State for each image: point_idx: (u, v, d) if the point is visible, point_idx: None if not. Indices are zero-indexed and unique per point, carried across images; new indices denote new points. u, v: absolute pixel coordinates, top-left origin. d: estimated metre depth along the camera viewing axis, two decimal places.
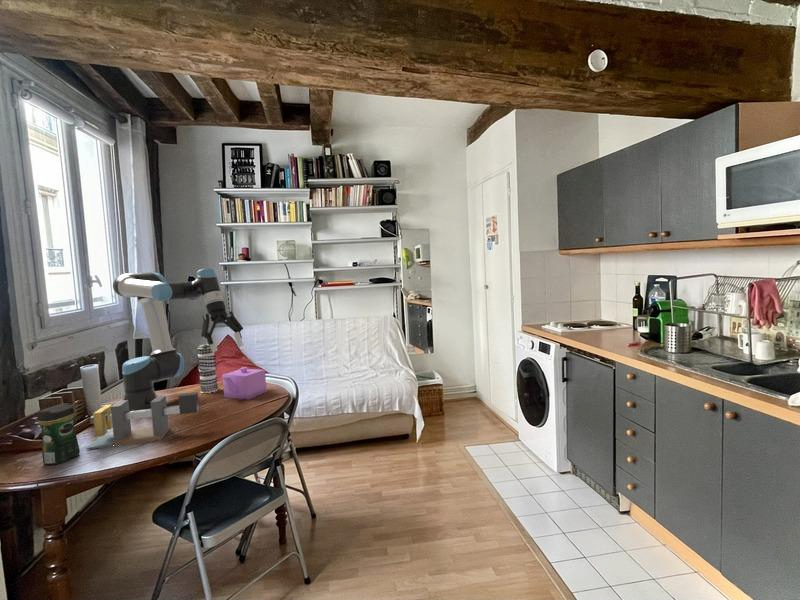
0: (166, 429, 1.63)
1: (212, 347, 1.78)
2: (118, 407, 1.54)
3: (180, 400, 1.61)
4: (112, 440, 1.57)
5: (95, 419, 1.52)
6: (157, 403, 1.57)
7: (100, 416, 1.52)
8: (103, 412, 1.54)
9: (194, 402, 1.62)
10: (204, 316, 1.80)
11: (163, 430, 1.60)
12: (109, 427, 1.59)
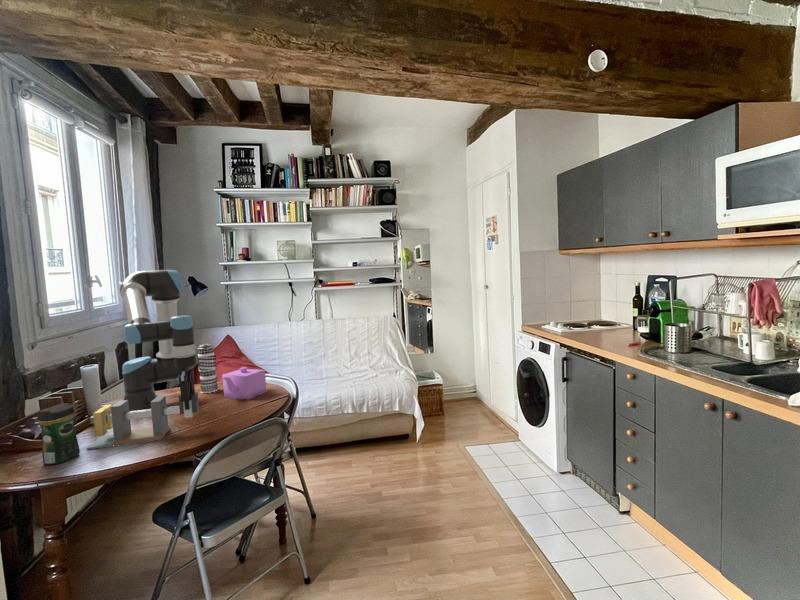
0: (166, 429, 1.63)
1: (186, 413, 1.61)
2: (118, 407, 1.54)
3: None
4: (112, 440, 1.57)
5: (95, 419, 1.52)
6: (157, 403, 1.57)
7: (100, 416, 1.52)
8: (103, 412, 1.54)
9: (194, 402, 1.62)
10: (181, 378, 1.57)
11: (163, 430, 1.60)
12: (109, 427, 1.59)
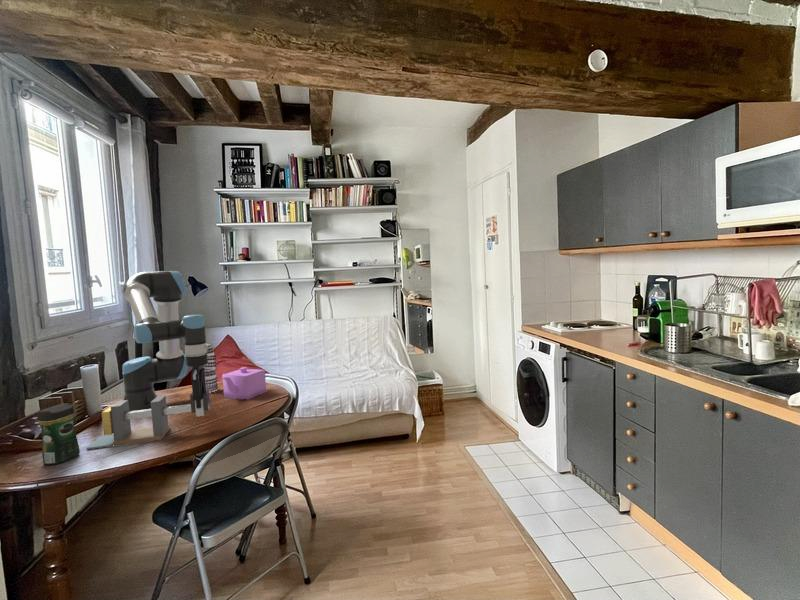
0: (166, 429, 1.63)
1: (197, 411, 1.62)
2: (118, 407, 1.54)
3: (191, 398, 1.62)
4: (112, 440, 1.57)
5: (104, 418, 1.52)
6: (157, 403, 1.57)
7: (109, 415, 1.53)
8: None
9: (205, 401, 1.63)
10: (193, 377, 1.58)
11: (163, 430, 1.60)
12: None
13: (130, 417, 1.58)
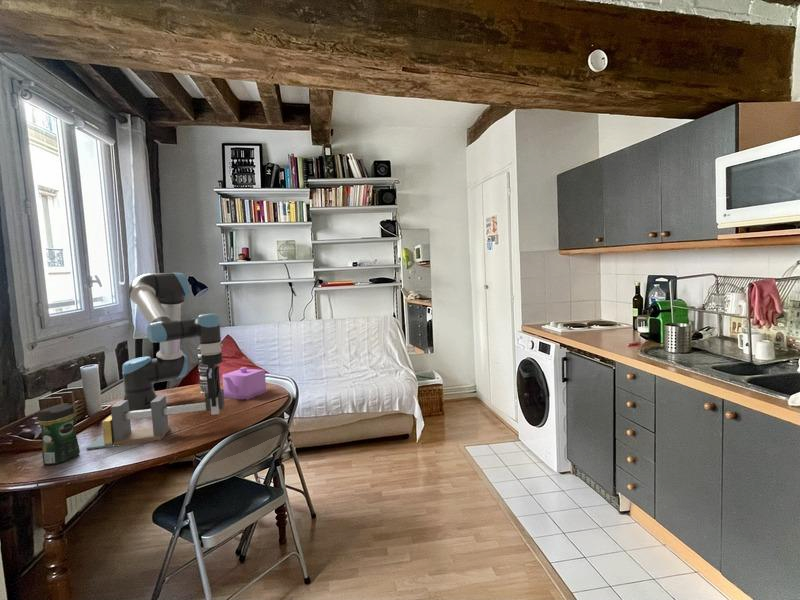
0: (166, 429, 1.63)
1: (212, 409, 1.64)
2: (118, 407, 1.54)
3: (206, 397, 1.63)
4: None
5: (104, 427, 1.52)
6: (157, 403, 1.57)
7: (109, 424, 1.53)
8: None
9: (220, 399, 1.65)
10: (209, 375, 1.59)
11: (163, 430, 1.60)
12: None
13: (145, 415, 1.59)
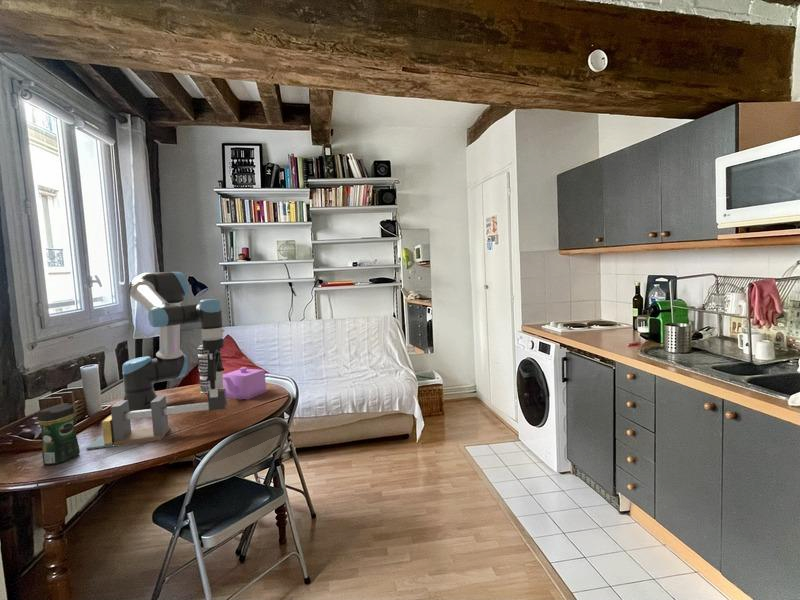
0: (166, 429, 1.63)
1: (211, 392, 1.59)
2: (118, 407, 1.54)
3: (209, 396, 1.64)
4: None
5: (104, 427, 1.52)
6: (157, 403, 1.57)
7: (109, 424, 1.53)
8: None
9: (222, 399, 1.65)
10: (210, 356, 1.59)
11: (163, 430, 1.60)
12: None
13: (148, 415, 1.59)
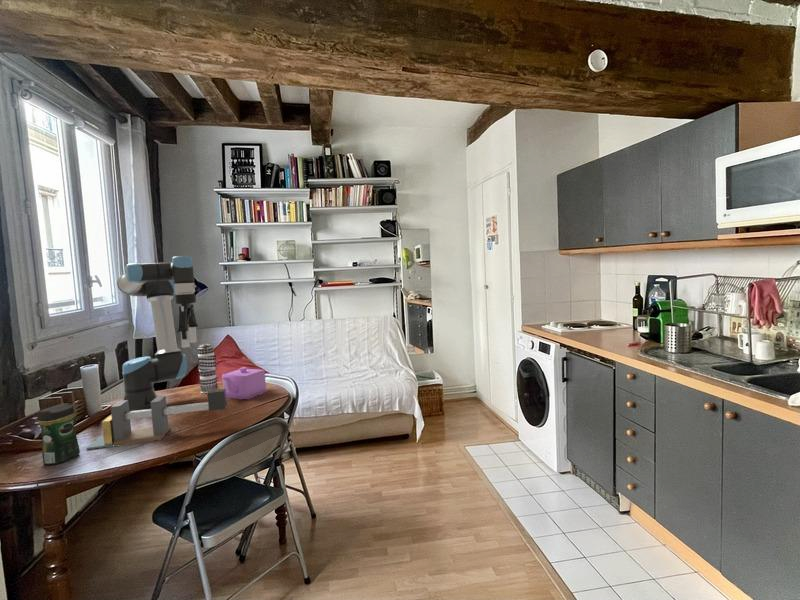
0: (166, 429, 1.63)
1: (183, 343, 1.69)
2: (118, 407, 1.54)
3: (209, 396, 1.64)
4: None
5: (104, 427, 1.52)
6: (157, 403, 1.57)
7: (109, 424, 1.53)
8: None
9: (222, 399, 1.65)
10: (181, 308, 1.68)
11: (163, 430, 1.60)
12: None
13: (148, 415, 1.59)
